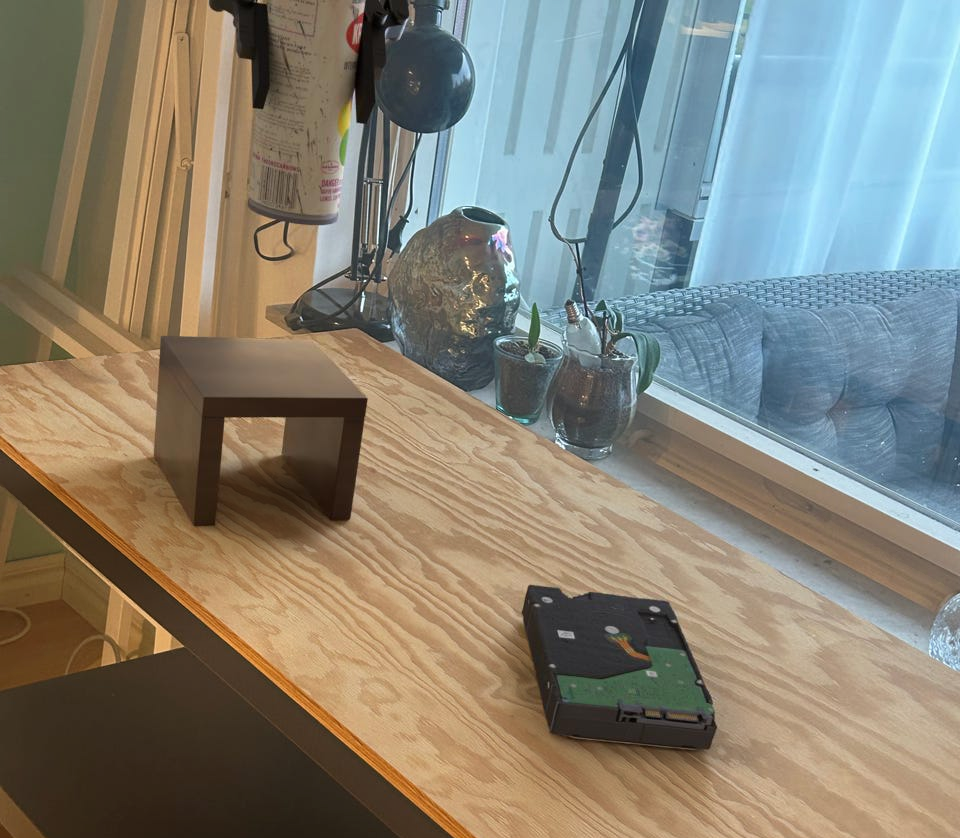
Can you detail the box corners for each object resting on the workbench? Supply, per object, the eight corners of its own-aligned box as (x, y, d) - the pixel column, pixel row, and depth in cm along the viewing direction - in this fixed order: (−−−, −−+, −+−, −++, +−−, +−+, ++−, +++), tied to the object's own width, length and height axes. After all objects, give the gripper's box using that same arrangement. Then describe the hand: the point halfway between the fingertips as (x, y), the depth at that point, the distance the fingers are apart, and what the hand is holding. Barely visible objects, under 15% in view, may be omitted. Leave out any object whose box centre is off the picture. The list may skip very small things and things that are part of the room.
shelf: (153, 456, 104) (160, 335, 99) (299, 454, 109) (313, 339, 104) (193, 526, 95) (203, 397, 90) (350, 520, 100) (368, 398, 95)
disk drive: (516, 618, 92) (548, 740, 79) (524, 582, 90) (558, 700, 78) (660, 633, 94) (713, 754, 81) (669, 598, 92) (725, 716, 79)
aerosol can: (342, 230, 99) (381, -70, 89) (249, 217, 97) (279, -90, 87) (332, 206, 105) (368, -77, 95) (245, 194, 103) (272, -96, 93)
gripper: (416, -105, 106) (432, 153, 100) (162, -157, 99) (165, 116, 94) (444, -180, 99) (463, 93, 94) (173, -241, 92) (177, 49, 87)
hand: (314, 104), depth 94 cm, fingers closed on aerosol can, 7 cm apart
